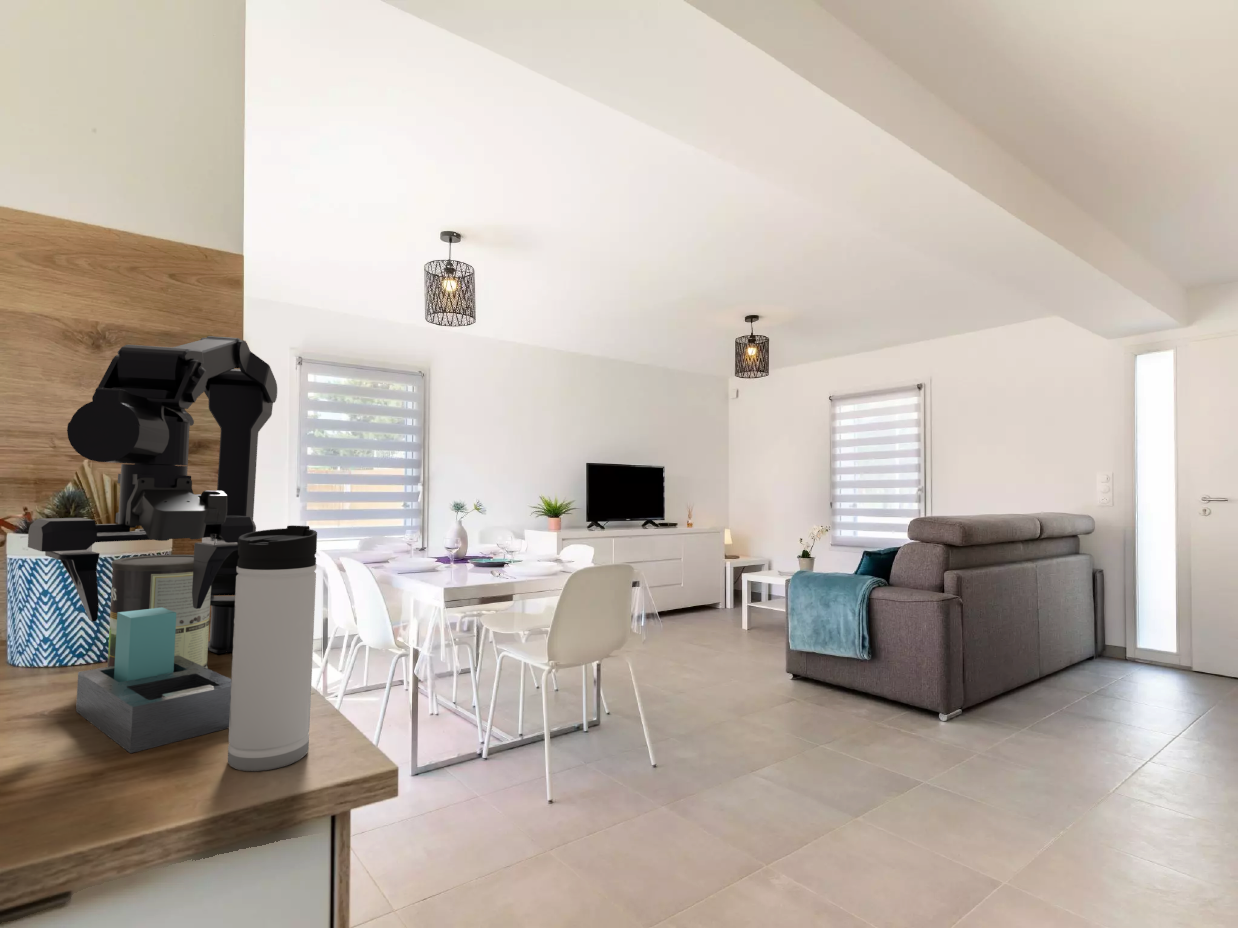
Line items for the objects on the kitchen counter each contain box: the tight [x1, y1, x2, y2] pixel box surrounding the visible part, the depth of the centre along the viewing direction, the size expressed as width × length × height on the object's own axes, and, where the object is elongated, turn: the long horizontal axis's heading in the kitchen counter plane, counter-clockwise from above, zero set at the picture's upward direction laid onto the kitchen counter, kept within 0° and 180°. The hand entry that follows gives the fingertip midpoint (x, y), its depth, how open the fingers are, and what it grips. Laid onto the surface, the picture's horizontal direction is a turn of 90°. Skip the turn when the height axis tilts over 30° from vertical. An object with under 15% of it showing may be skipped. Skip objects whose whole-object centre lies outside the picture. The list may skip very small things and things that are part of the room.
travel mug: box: [227, 524, 318, 772], centre depth 58 cm, size 6×7×20 cm
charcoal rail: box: [75, 655, 231, 754], centre depth 66 cm, size 16×9×4 cm, turn 53°
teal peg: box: [114, 608, 176, 682], centre depth 68 cm, size 4×4×10 cm
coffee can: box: [106, 554, 211, 669], centre depth 80 cm, size 10×10×14 cm
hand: (147, 614), depth 68 cm, fingers open, 9 cm apart
